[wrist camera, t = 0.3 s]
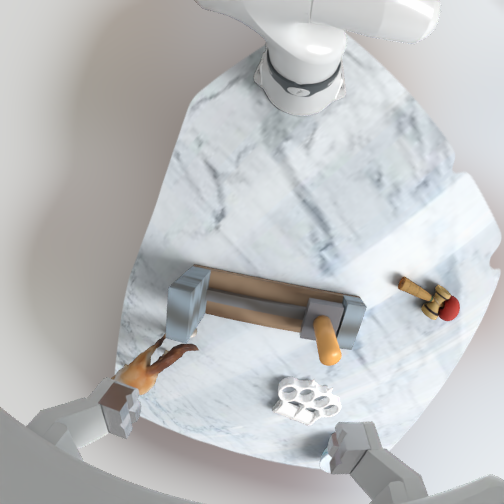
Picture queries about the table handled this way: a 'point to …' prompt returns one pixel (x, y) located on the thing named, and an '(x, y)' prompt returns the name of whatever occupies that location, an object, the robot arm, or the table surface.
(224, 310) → the walnut rail
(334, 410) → the white brass knuckles
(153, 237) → the table surface
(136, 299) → the table surface
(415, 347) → the table surface
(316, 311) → the carriage
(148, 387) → the horse figurine
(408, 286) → the kendama
